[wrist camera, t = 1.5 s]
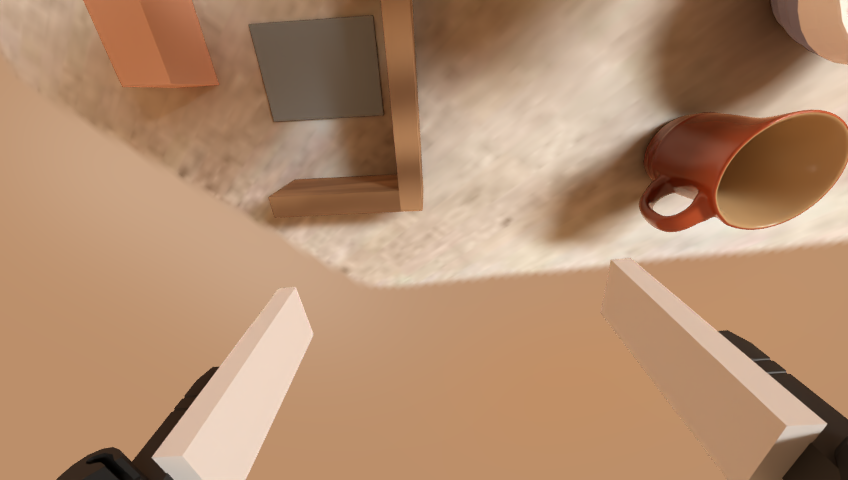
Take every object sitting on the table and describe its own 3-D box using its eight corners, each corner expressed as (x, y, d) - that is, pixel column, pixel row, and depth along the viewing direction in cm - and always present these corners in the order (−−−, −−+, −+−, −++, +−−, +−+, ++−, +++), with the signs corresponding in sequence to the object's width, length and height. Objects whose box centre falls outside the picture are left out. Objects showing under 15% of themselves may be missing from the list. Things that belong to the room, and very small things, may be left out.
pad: (249, 24, 26) (248, 24, 26) (372, 15, 26) (372, 15, 26) (274, 121, 30) (274, 121, 30) (383, 114, 30) (383, 115, 29)
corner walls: (240, -35, 25) (188, -69, 19) (409, -48, 24) (404, -88, 19) (299, 197, 34) (274, 217, 28) (423, 190, 33) (422, 210, 28)
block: (145, -4, 26) (70, -28, 20) (190, -7, 26) (126, -33, 20) (179, 87, 29) (122, 86, 24) (219, 85, 29) (171, 83, 23)
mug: (705, 82, 28) (839, 78, 19) (734, 154, 31) (863, 181, 22) (587, 166, 32) (652, 197, 23) (623, 223, 35) (694, 272, 25)
